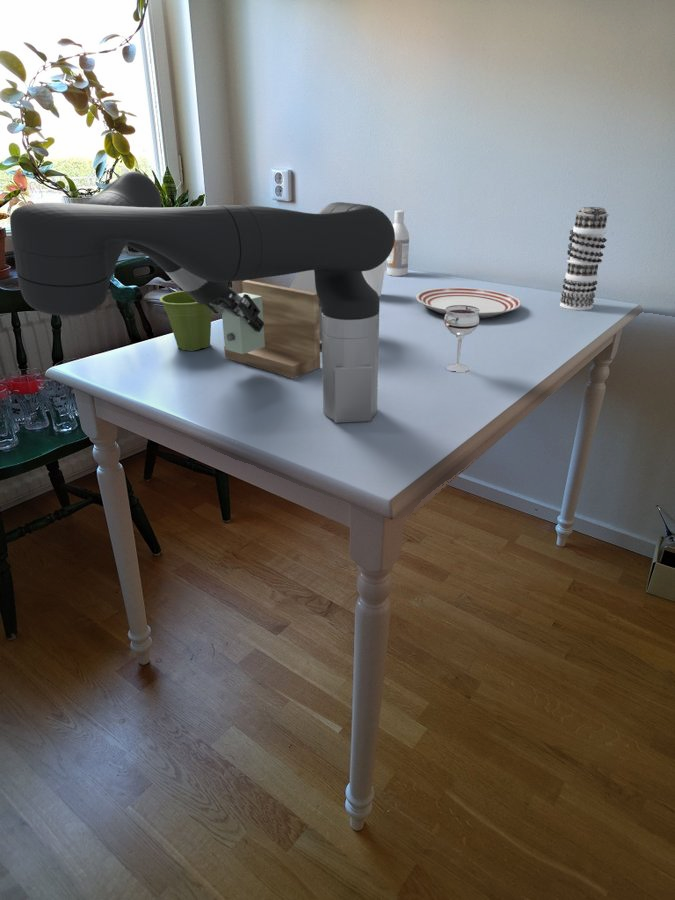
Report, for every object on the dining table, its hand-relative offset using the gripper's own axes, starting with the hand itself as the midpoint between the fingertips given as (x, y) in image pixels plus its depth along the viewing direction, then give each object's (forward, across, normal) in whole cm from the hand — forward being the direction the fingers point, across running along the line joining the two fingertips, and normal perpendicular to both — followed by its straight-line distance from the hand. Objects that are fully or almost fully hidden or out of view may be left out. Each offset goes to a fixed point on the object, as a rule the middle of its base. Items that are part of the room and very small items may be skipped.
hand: (250, 325), depth 120 cm
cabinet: (+2, 0, -4) cm, 5 cm away
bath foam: (+72, -30, +61) cm, 99 cm away
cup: (+51, -19, +39) cm, 67 cm away
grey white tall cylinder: (+69, +33, +57) cm, 95 cm away
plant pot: (+8, -22, -5) cm, 24 cm away
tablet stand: (+25, -2, +12) cm, 28 cm away
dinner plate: (+55, +11, +42) cm, 70 cm away
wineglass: (+25, +32, +12) cm, 42 cm away
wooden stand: (+10, 0, -3) cm, 10 cm away
